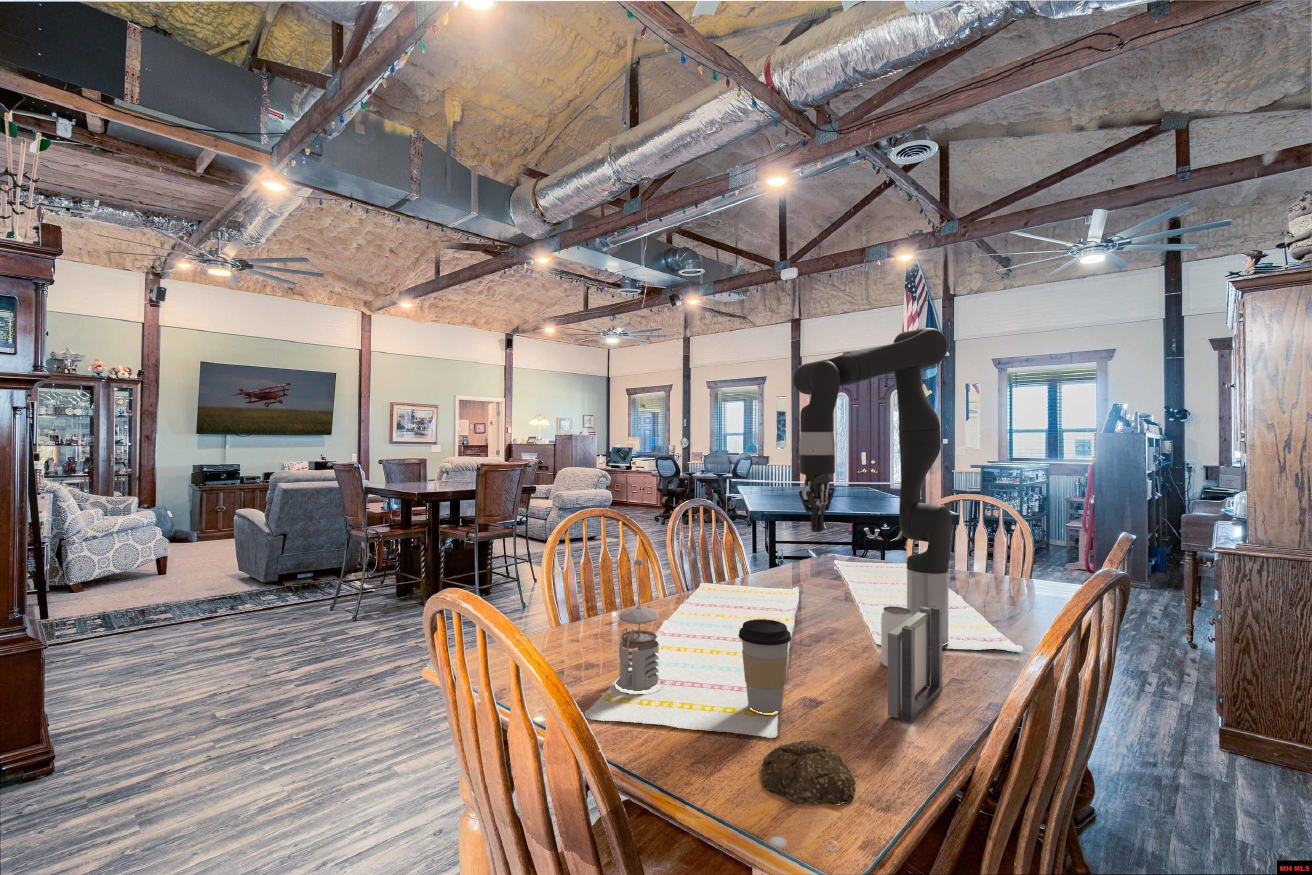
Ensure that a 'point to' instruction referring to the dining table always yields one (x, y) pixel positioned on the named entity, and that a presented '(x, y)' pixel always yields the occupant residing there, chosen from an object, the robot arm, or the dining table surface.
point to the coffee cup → (765, 663)
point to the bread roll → (808, 774)
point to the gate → (921, 658)
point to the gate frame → (909, 704)
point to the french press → (647, 646)
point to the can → (891, 626)
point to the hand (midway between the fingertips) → (817, 531)
